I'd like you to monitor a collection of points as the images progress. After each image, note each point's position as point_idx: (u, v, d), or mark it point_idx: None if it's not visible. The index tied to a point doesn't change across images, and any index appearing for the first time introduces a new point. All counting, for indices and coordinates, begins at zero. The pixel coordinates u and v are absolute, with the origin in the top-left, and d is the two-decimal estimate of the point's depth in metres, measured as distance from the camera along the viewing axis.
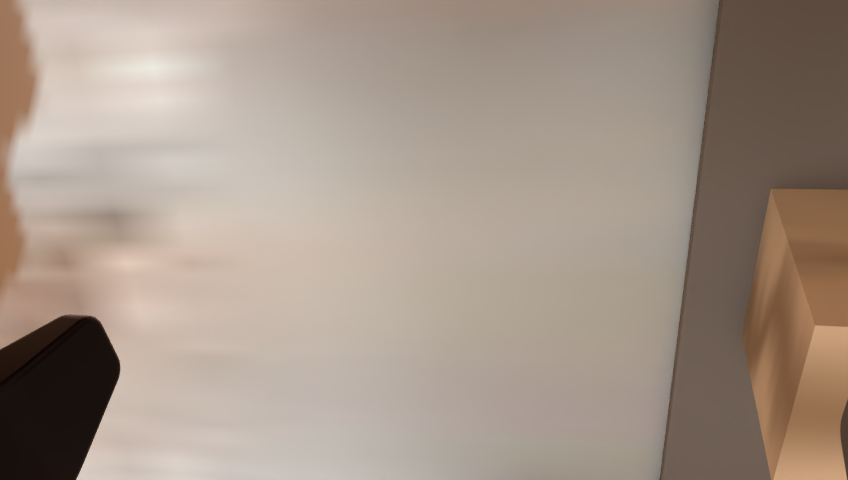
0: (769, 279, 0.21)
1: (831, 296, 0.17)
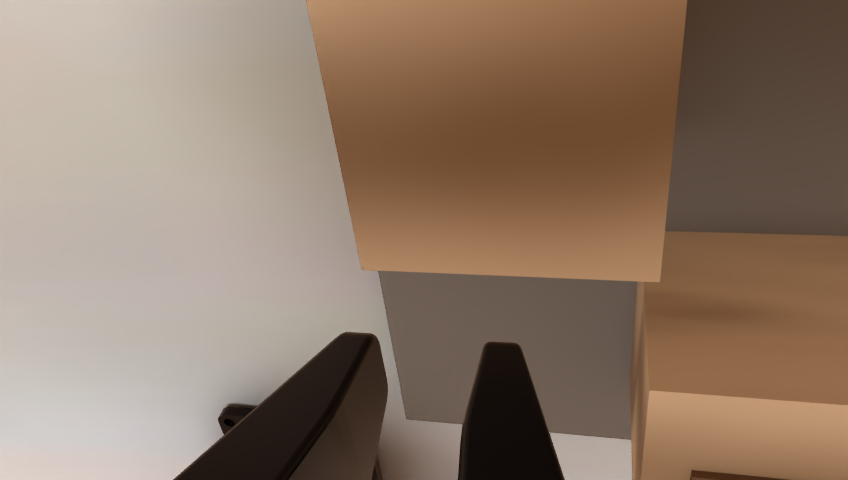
0: None
1: None
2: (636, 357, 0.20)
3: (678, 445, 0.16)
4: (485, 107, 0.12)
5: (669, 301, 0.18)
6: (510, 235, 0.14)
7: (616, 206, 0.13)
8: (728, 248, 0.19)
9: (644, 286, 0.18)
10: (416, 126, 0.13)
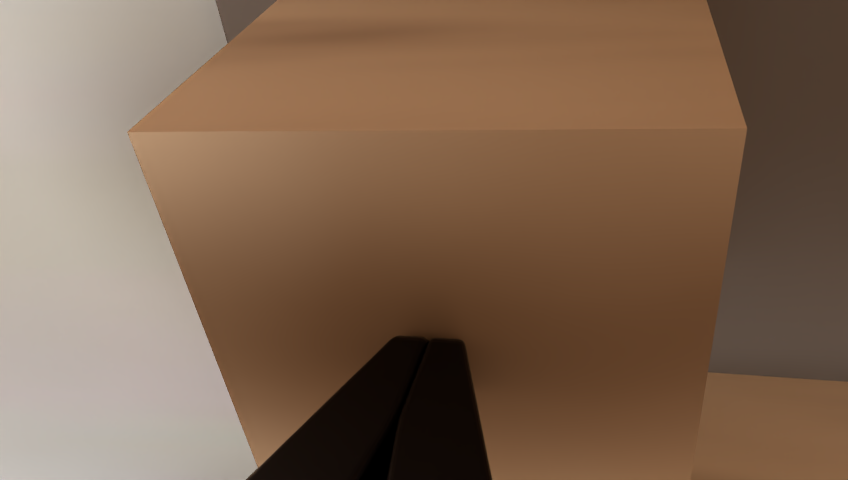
0: None
1: (221, 87, 0.08)
2: None
3: None
4: (420, 313, 0.08)
5: None
6: None
7: (619, 445, 0.09)
8: (761, 401, 0.15)
9: None
10: (321, 329, 0.09)
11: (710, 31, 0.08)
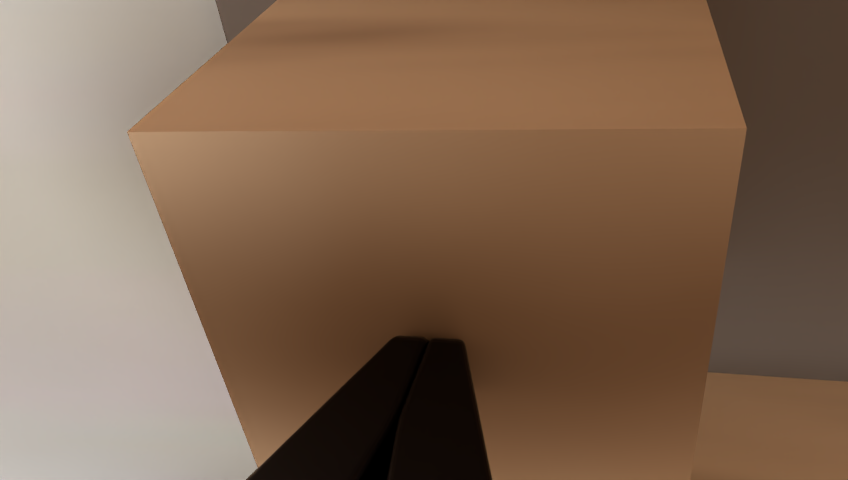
0: None
1: (221, 87, 0.08)
2: None
3: None
4: (420, 313, 0.08)
5: None
6: None
7: (619, 445, 0.09)
8: (761, 401, 0.15)
9: None
10: (321, 329, 0.09)
11: (710, 31, 0.08)
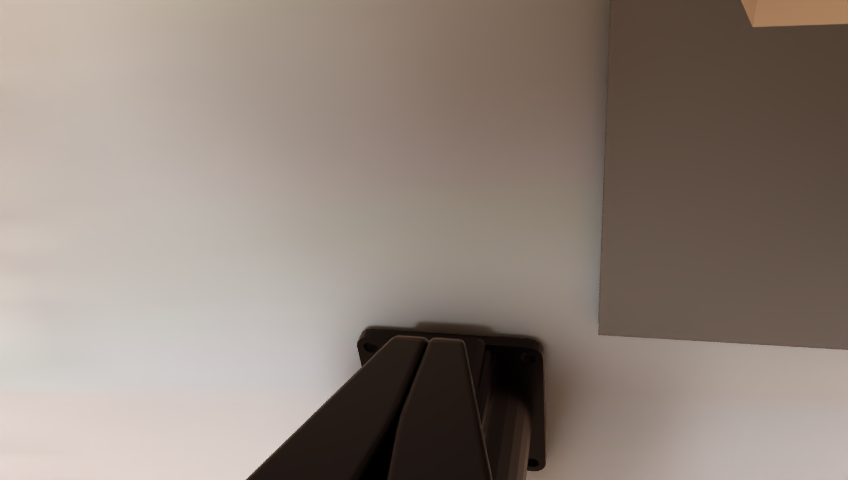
0: None
1: None
2: None
3: None
4: None
5: None
6: None
7: None
8: None
9: None
10: None
11: None
